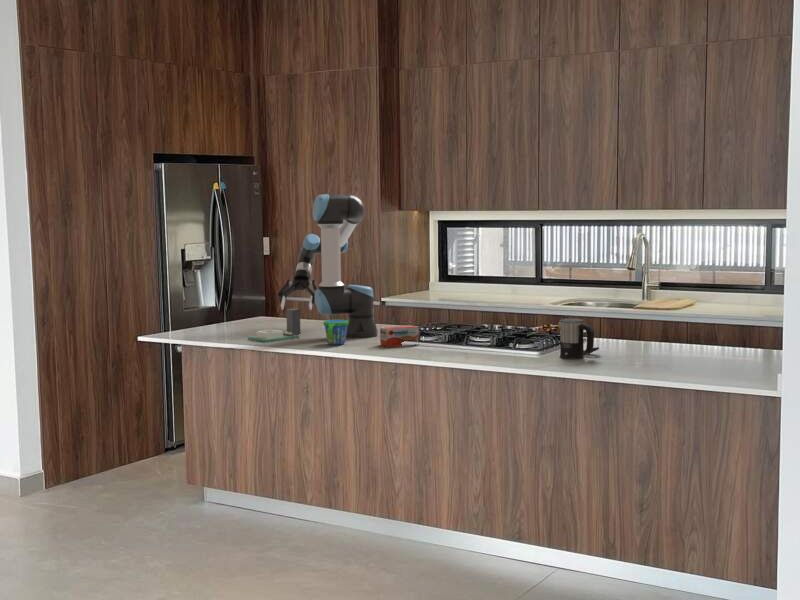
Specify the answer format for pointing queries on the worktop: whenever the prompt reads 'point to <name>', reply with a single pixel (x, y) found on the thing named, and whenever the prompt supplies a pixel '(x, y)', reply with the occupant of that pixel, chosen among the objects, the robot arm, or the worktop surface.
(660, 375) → the worktop surface
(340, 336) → the snack cup
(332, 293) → the robot arm
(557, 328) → the plate of food
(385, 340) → the medicine box
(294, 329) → the gray rounded block
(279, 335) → the board
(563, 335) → the milk frother
